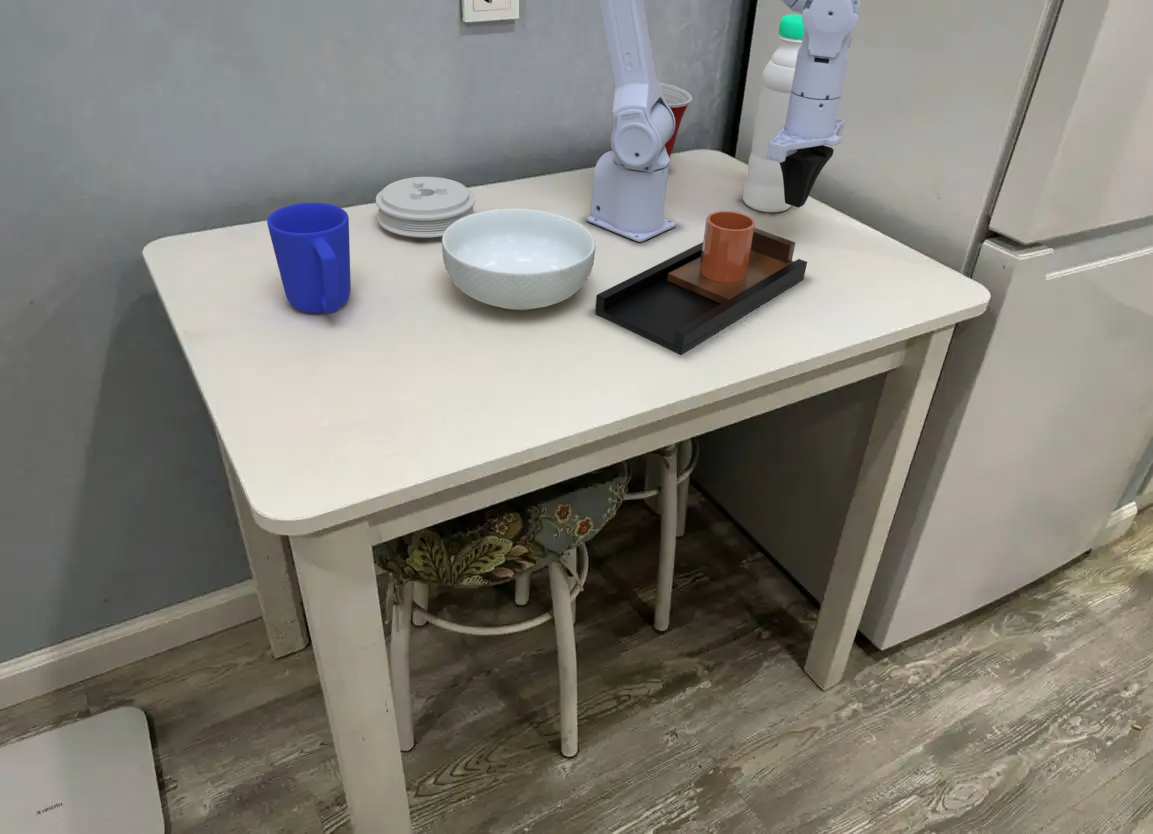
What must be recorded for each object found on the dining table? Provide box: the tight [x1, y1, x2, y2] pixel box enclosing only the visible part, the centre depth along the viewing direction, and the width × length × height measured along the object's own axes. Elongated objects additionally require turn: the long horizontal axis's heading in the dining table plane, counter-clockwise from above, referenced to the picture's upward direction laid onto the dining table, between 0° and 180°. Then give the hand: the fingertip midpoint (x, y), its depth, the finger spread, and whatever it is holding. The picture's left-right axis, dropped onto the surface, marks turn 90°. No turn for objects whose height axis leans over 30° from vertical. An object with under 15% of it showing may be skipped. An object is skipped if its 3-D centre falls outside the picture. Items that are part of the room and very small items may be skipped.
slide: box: [667, 227, 796, 304], centre depth 106 cm, size 9×14×3 cm, turn 138°
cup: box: [700, 210, 757, 283], centre depth 103 cm, size 6×6×6 cm
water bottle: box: [742, 13, 805, 213], centre depth 120 cm, size 7×7×25 cm
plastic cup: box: [659, 81, 693, 158], centre depth 133 cm, size 11×11×12 cm
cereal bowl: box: [441, 208, 597, 311], centre depth 100 cm, size 17×17×7 cm
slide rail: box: [594, 241, 808, 355], centre depth 103 cm, size 12×25×2 cm, turn 138°
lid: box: [375, 176, 476, 238], centre depth 116 cm, size 13×13×5 cm
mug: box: [266, 202, 352, 314], centre depth 95 cm, size 8×12×10 cm
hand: (794, 204), depth 112 cm, fingers closed
